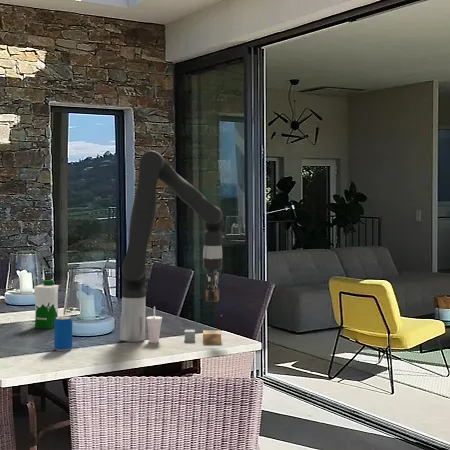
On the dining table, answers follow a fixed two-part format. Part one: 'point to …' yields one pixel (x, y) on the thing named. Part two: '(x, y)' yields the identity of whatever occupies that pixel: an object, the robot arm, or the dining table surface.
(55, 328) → the beverage can
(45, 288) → the milk carton
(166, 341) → the dining table surface
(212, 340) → the teak block
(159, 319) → the smoothie
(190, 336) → the slate-grey cube
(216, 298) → the walnut cube
